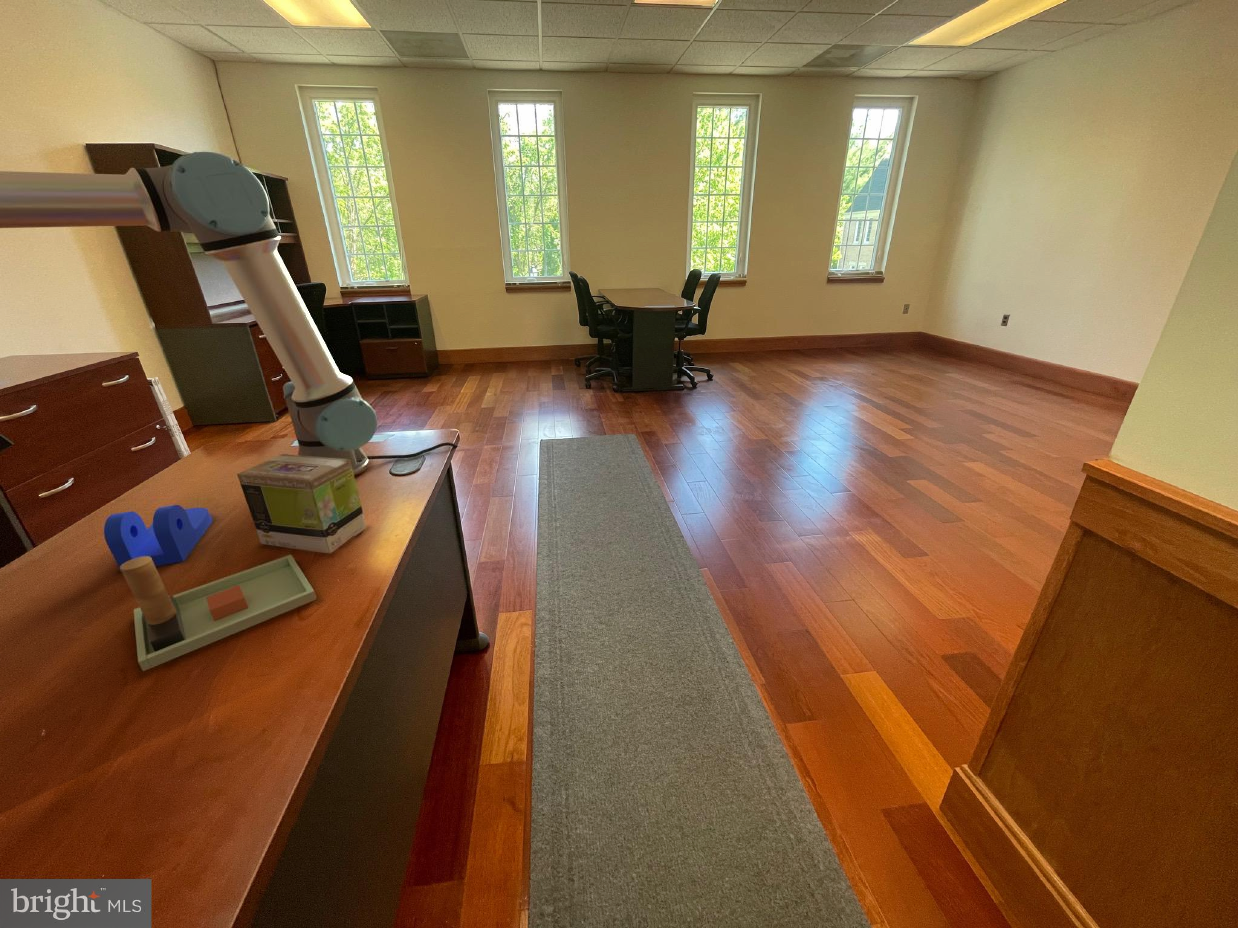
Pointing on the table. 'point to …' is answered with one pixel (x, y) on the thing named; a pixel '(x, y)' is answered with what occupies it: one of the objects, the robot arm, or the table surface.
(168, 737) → the table surface
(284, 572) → the tray
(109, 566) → the table surface
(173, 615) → the brush
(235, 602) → the orange flat block
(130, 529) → the bracket
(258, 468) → the tea box
